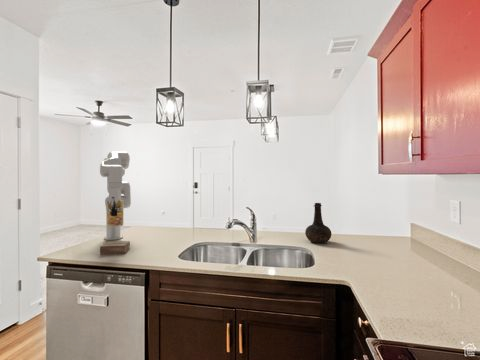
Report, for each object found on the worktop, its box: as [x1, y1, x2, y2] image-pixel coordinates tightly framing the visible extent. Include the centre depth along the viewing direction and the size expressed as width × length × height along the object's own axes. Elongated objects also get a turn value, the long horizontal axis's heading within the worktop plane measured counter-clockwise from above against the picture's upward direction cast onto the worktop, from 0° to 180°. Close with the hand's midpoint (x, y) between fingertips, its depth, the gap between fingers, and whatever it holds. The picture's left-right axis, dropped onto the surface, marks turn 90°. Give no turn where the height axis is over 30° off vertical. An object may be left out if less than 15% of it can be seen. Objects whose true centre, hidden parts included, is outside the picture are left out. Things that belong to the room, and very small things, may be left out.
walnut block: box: [99, 240, 131, 256], centre depth 171 cm, size 12×14×5 cm
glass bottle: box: [305, 202, 332, 244], centre depth 200 cm, size 18×18×28 cm
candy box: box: [107, 200, 124, 227], centre depth 171 cm, size 9×4×15 cm, turn 107°
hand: (115, 215), depth 171 cm, fingers closed on candy box, 4 cm apart
